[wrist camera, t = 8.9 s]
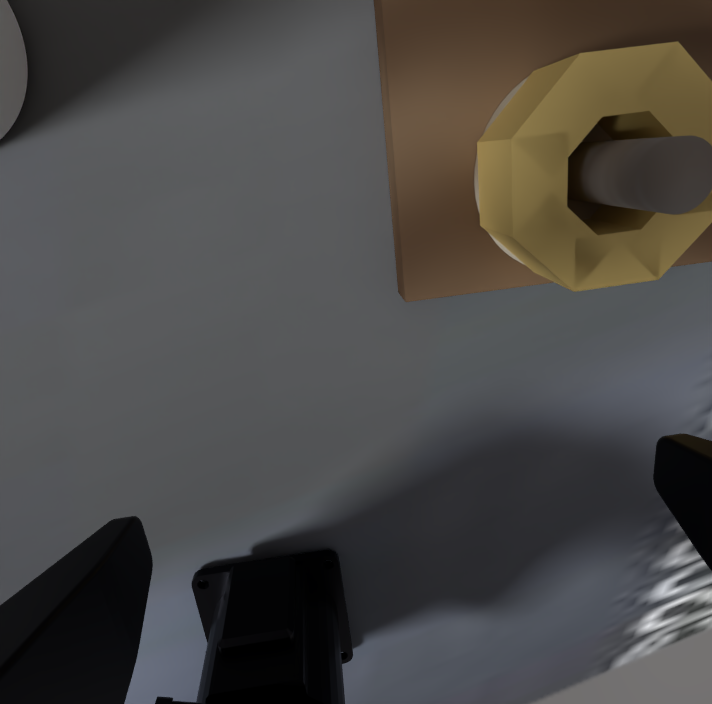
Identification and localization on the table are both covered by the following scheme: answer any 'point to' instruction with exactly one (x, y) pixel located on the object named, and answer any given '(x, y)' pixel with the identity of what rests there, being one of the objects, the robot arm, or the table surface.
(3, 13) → the can
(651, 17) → the gear board
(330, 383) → the table surface
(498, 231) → the tan ring
